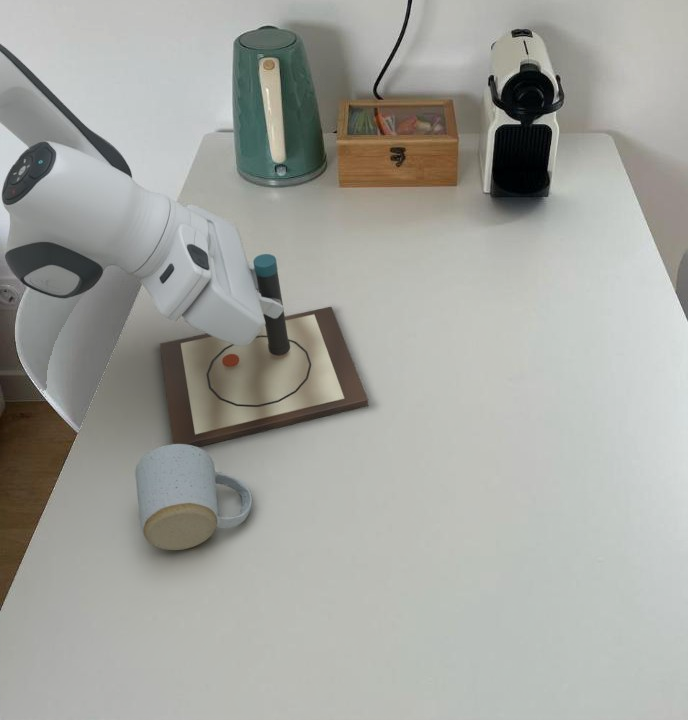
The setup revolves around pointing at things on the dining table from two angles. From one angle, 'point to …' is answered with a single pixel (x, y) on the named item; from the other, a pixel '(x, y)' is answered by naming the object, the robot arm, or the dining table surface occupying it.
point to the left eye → (230, 360)
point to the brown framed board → (259, 381)
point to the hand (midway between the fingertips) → (276, 301)
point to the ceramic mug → (183, 496)
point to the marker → (270, 286)
